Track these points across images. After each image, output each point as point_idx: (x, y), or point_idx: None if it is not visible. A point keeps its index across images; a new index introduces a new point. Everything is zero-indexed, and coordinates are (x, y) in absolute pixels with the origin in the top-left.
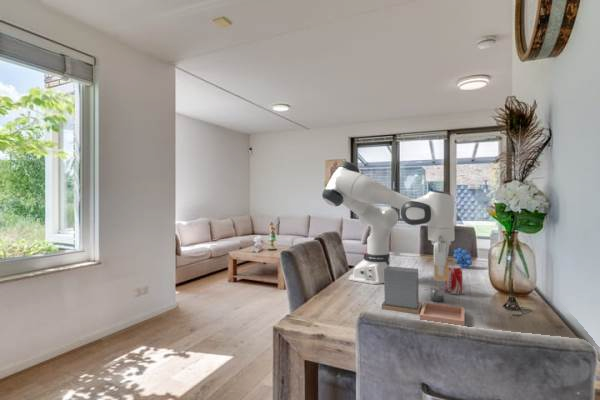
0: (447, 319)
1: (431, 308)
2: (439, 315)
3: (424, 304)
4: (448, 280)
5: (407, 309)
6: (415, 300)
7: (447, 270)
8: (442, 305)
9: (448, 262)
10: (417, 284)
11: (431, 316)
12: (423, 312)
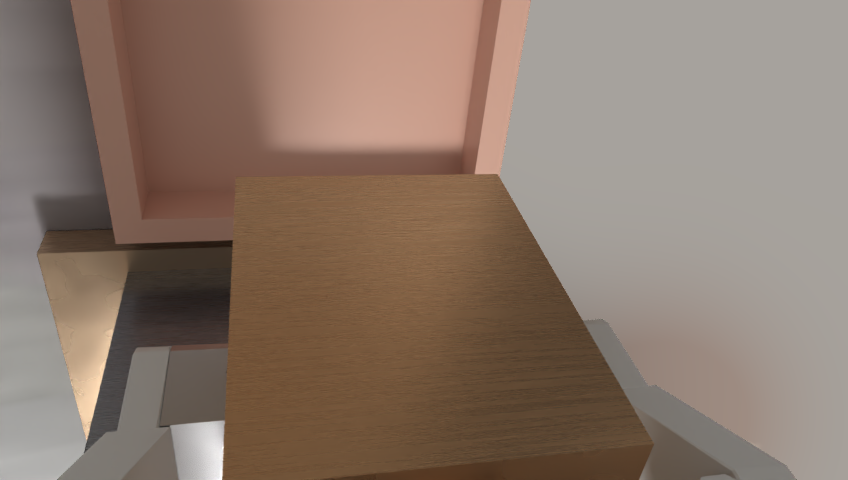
0: (526, 5)
1: (142, 152)
2: (306, 68)
3: (190, 231)
4: (461, 177)
5: None
6: None
7: (578, 326)
8: (118, 64)
9: (342, 477)
10: None
11: (504, 144)
12: None
